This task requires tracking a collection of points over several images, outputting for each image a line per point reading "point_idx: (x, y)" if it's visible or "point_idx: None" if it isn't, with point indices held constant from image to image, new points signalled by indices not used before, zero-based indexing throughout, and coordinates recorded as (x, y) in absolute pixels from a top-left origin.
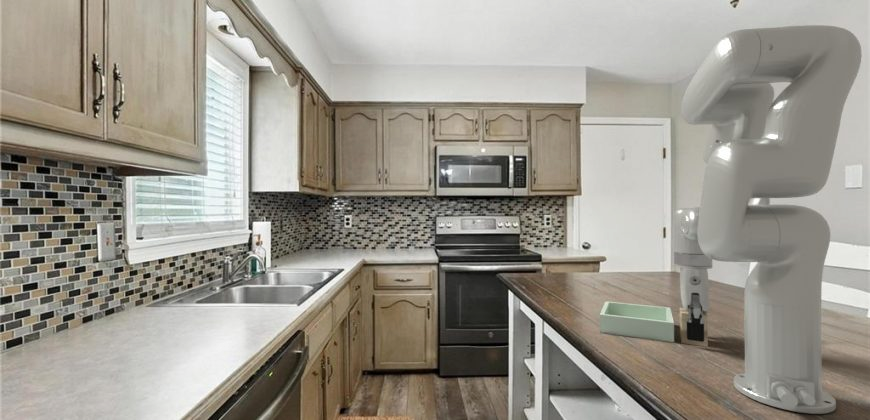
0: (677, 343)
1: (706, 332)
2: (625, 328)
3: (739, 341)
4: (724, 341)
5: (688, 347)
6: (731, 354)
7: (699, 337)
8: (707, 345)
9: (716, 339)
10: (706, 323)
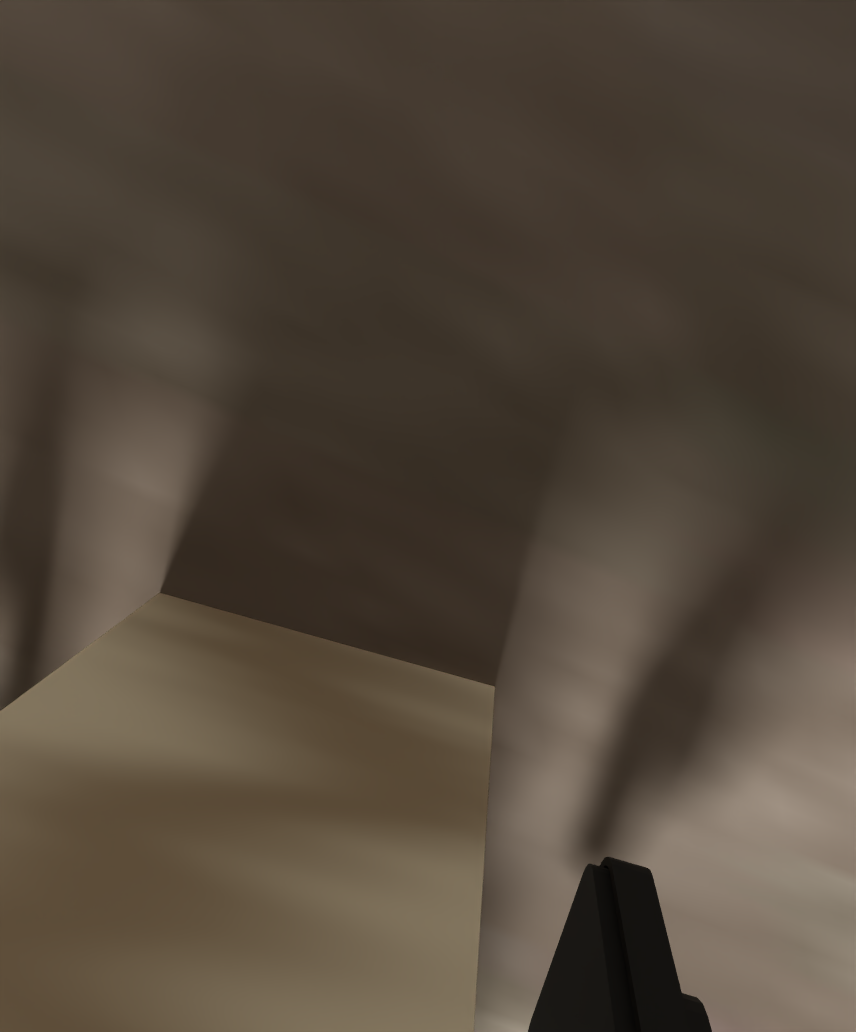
0: None
1: (485, 839)
2: None
3: (69, 26)
4: (153, 309)
5: None
6: (846, 502)
7: (699, 1000)
8: (490, 693)
9: (79, 397)
10: (475, 1000)
